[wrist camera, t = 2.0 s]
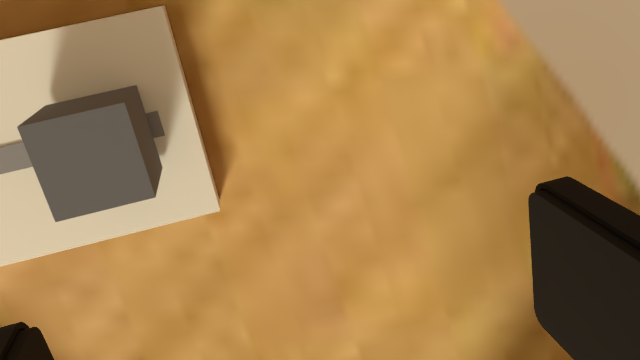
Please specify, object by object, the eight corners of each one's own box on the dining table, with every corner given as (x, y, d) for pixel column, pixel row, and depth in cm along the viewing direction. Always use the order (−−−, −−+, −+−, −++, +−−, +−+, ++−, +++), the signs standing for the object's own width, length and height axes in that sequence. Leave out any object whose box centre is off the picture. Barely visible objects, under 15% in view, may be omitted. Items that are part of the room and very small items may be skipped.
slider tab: (136, 84, 25) (124, 102, 21) (162, 167, 27) (155, 197, 23) (45, 105, 25) (16, 126, 21) (76, 188, 26) (55, 222, 22)
